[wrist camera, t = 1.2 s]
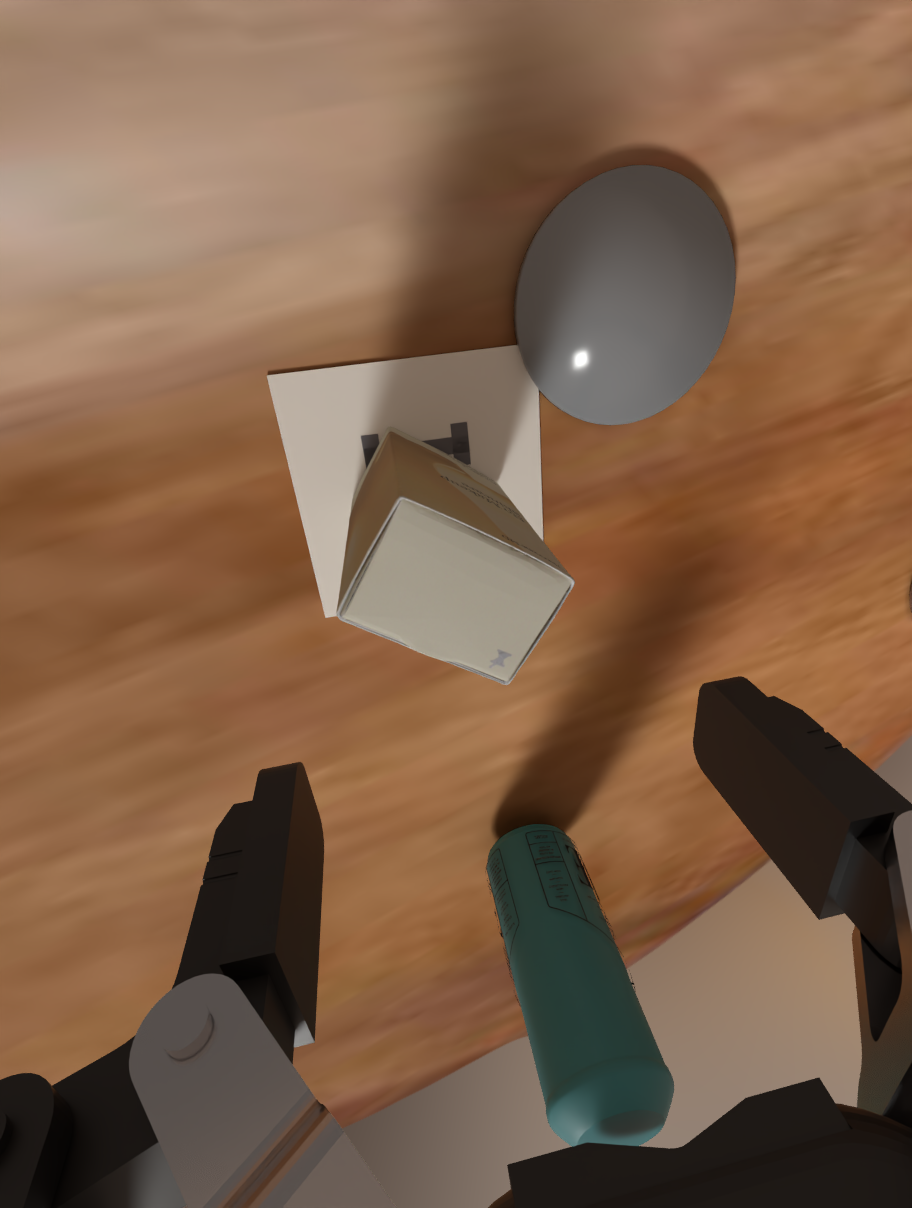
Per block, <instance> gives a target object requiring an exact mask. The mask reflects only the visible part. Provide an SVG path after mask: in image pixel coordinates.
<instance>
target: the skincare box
mask: <svg viewBox="0 0 912 1208" xmlns="http://www.w3.org/2000/svg"><path fill="white" fill-rule="evenodd" d="M574 584H575V581H574V579H573V578H572V577H571V576H570V575H569V573H568V572H567V571H566V570H565V569H564V567H563V566H562V565H561V564H560V562H559V561H558V560H557V558H556V557H555V556H554V555H553V553H552V552H551V551H550V550H549V548H548V547H547V546H546V544H545V543H544V542H543V541H542V539H541V538H540V537H539V536H538V534H537V533H536V532H535V531H534V529H533V528H532V527H531V525H530V524H529V523H528V522H527V520H526V519H525V518H524V516H523V515H522V514H521V513H520V511H519V510H518V509H517V508H516V506H515V505H514V504H513V503H512V501H511V500H510V499H509V497H508V496H507V495H506V494H505V492H504V491H503V490H502V488H501V487H500V486H499V484H498V483H497V482H495V481H494V480H492V479H490V478H489V477H487V476H485V475H484V474H482V473H480V472H478V471H477V470H475V469H473V468H472V467H470V466H468V465H466V464H464V463H463V462H461V461H459V460H457V459H455V458H453V457H452V456H450V455H448V454H446V453H444V452H442V451H440V450H438V449H436V448H434V447H432V446H430V445H428V444H426V443H424V442H422V441H420V440H418V439H416V438H414V437H412V436H410V435H408V434H406V433H404V432H402V431H400V430H398V429H396V428H394V427H391V426H389V427H388V428H387V430H386V432H385V434H384V436H383V438H382V439H381V441H380V443H379V445H378V447H377V449H376V451H375V453H374V455H373V457H372V459H371V461H370V463H369V465H368V467H367V469H366V471H365V473H364V475H363V477H362V480H361V482H360V484H359V486H358V488H357V490H356V492H355V495H354V497H353V499H352V506H351V513H350V518H349V527H348V534H347V541H346V549H345V556H344V563H343V570H342V577H341V584H340V591H339V599H338V605H337V611H336V614H337V617H338V618H339V619H340V620H341V621H343V622H346V623H349V624H351V625H354V626H356V627H359V628H361V629H364V630H366V631H369V632H371V633H374V634H376V635H379V636H381V637H384V638H386V639H389V640H391V641H394V642H397V643H399V644H401V645H404V646H406V647H408V648H411V649H413V650H415V651H418V652H420V653H422V654H425V655H427V656H430V657H433V658H436V659H439V660H442V661H445V662H448V663H450V664H453V665H455V666H458V667H460V668H463V669H465V670H468V671H471V672H474V673H476V674H479V675H481V676H484V677H486V678H489V679H491V680H494V681H497V682H499V683H501V684H504V685H507V684H510V682H511V681H512V680H513V678H514V677H515V675H516V673H517V672H518V670H519V669H520V668H521V666H522V665H523V664H524V662H525V661H526V659H527V657H528V656H529V655H530V653H531V652H532V650H533V649H534V647H535V646H536V644H537V643H538V641H539V640H540V638H541V637H542V635H543V634H544V632H545V631H546V630H547V628H548V626H549V625H550V623H551V622H552V620H553V619H554V617H555V616H556V614H557V613H558V611H559V609H560V608H561V606H562V604H563V602H564V601H565V599H566V597H567V596H568V594H569V593H570V591H571V589H572V588H573V586H574Z"/></svg>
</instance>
